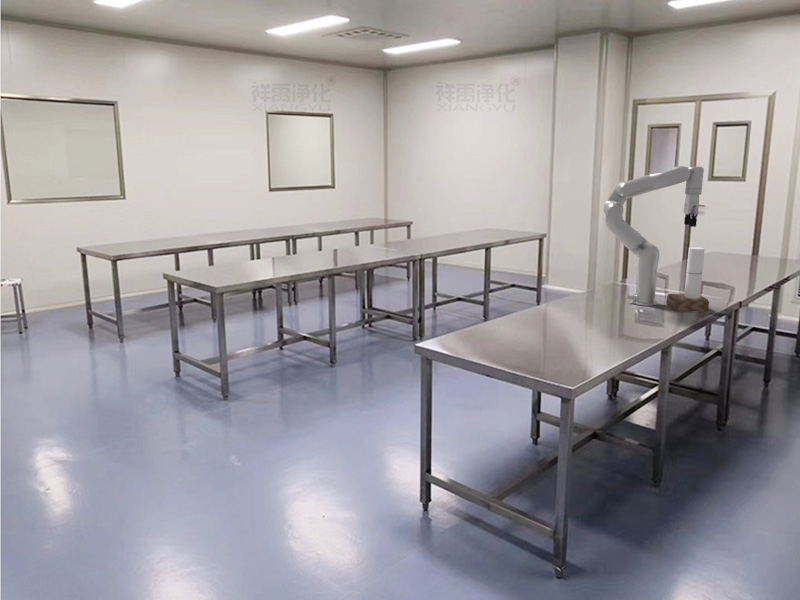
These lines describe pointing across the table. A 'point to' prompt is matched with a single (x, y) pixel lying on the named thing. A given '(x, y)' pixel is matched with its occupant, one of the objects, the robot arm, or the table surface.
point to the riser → (687, 303)
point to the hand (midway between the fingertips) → (689, 225)
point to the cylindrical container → (694, 272)
